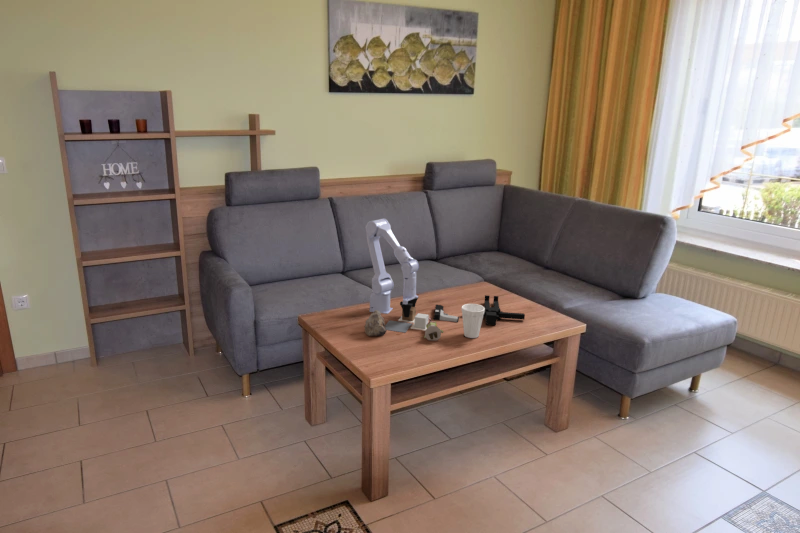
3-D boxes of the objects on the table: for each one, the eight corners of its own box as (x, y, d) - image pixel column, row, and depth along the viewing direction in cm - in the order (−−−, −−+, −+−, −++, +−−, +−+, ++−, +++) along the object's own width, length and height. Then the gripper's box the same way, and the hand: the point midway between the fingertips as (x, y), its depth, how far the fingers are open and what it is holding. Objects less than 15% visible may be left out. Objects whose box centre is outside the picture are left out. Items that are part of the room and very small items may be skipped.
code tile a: (397, 321, 257) (397, 320, 257) (403, 315, 265) (403, 314, 265) (414, 323, 255) (414, 322, 255) (419, 317, 262) (419, 316, 262)
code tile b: (410, 328, 249) (410, 328, 248) (415, 322, 256) (415, 321, 256) (427, 331, 246) (427, 330, 246) (432, 325, 254) (432, 324, 254)
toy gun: (459, 306, 272) (434, 303, 273) (459, 318, 256) (432, 315, 257) (458, 312, 273) (434, 309, 274) (458, 324, 257) (432, 321, 258)
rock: (364, 343, 240) (374, 331, 233) (355, 320, 245) (365, 307, 238) (382, 341, 245) (392, 329, 238) (373, 318, 250) (383, 306, 243)
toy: (520, 297, 281) (526, 315, 251) (519, 308, 282) (525, 327, 253) (464, 294, 284) (464, 311, 254) (464, 304, 285) (463, 322, 256)
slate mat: (381, 329, 247) (381, 329, 247) (389, 321, 257) (389, 320, 257) (405, 333, 244) (405, 332, 244) (412, 324, 254) (412, 323, 254)
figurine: (446, 340, 234) (443, 327, 249) (440, 324, 232) (438, 312, 247) (426, 346, 235) (424, 334, 249) (420, 330, 233) (419, 319, 248)
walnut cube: (402, 319, 258) (402, 309, 257) (405, 315, 263) (405, 305, 261) (412, 321, 257) (412, 310, 255) (415, 317, 261) (415, 307, 260)
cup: (458, 339, 239) (460, 310, 235) (461, 330, 248) (462, 302, 245) (481, 341, 237) (484, 312, 233) (483, 332, 246) (485, 304, 243)
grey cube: (414, 327, 249) (414, 317, 248) (417, 323, 254) (417, 313, 253) (425, 329, 248) (425, 318, 247) (428, 325, 253) (428, 314, 251)
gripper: (413, 291, 247) (412, 320, 251) (422, 282, 261) (421, 310, 265) (398, 290, 250) (397, 318, 253) (408, 280, 263) (407, 308, 267)
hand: (409, 314), depth 259 cm, fingers open, 7 cm apart
